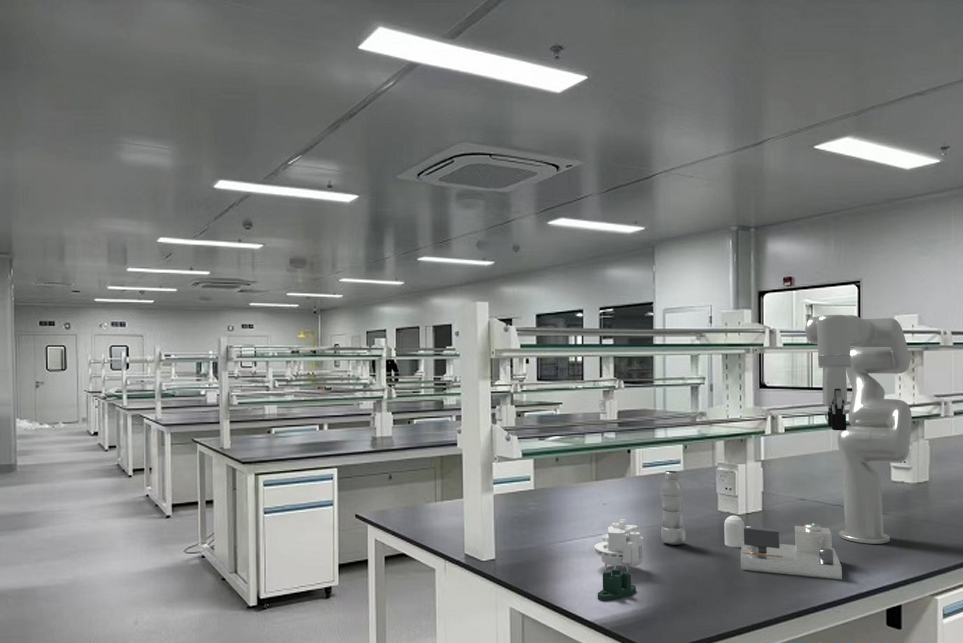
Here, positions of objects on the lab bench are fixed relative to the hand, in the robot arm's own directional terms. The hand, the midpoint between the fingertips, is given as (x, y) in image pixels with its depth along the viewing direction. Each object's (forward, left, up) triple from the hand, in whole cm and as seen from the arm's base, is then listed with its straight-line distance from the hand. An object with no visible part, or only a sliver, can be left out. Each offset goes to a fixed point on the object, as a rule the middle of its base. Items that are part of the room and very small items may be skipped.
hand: (837, 428), depth 175 cm
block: (+14, -19, -30) cm, 38 cm away
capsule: (-5, -26, -34) cm, 43 cm away
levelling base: (+10, -13, -33) cm, 37 cm away
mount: (+46, -49, -34) cm, 75 cm away
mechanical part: (+28, -52, -34) cm, 68 cm away
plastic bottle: (0, -42, -34) cm, 54 cm away
